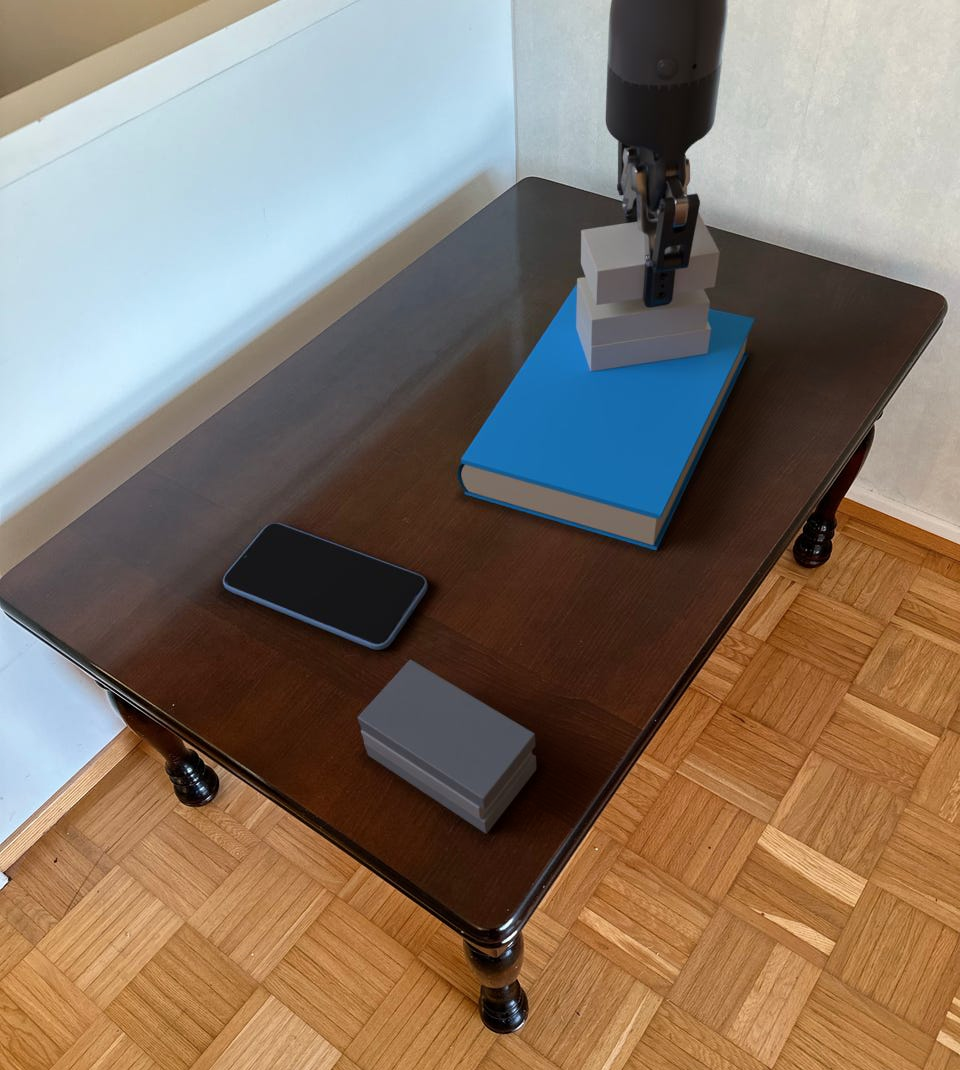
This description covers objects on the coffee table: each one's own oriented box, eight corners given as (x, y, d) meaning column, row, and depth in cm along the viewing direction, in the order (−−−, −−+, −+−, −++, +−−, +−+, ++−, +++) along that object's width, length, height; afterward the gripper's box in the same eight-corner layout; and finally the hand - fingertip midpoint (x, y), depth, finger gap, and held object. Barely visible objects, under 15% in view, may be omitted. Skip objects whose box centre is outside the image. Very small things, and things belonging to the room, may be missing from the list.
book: (755, 316, 81) (665, 512, 68) (747, 358, 85) (659, 552, 72) (570, 279, 86) (453, 455, 73) (569, 319, 90) (458, 494, 77)
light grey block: (694, 246, 77) (698, 211, 74) (715, 287, 74) (720, 252, 71) (580, 263, 77) (581, 229, 74) (595, 305, 73) (597, 271, 71)
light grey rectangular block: (688, 311, 82) (694, 259, 78) (707, 354, 79) (715, 302, 75) (576, 328, 82) (576, 277, 78) (590, 371, 78) (592, 320, 74)
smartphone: (383, 649, 67) (215, 582, 72) (385, 655, 68) (219, 589, 73) (432, 575, 71) (270, 516, 75) (433, 582, 71) (272, 524, 76)
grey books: (538, 769, 62) (536, 732, 58) (487, 835, 59) (482, 800, 55) (419, 696, 66) (409, 656, 62) (367, 755, 63) (354, 717, 59)
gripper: (755, 95, 58) (718, 327, 71) (690, 1, 66) (669, 225, 80) (635, 113, 58) (621, 342, 71) (586, 16, 66) (582, 238, 80)
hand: (646, 279), depth 75 cm, fingers closed on light grey block, 5 cm apart
